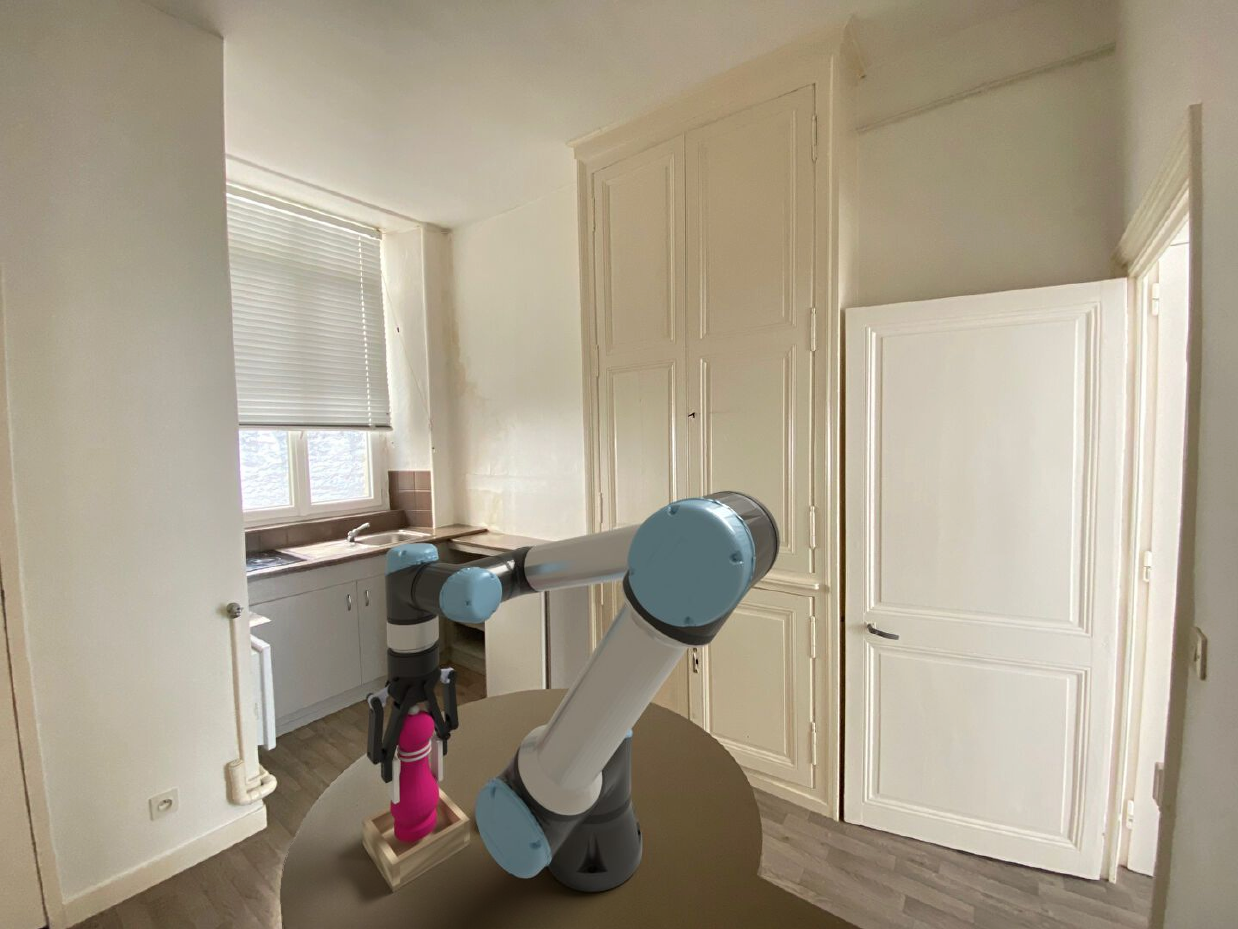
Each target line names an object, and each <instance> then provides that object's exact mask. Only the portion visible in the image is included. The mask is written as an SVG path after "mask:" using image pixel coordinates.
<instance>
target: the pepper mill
mask: <svg viewBox="0 0 1238 929" xmlns="http://www.w3.org/2000/svg"><path fill="white" fill-rule="evenodd" d="M434 732H435V730H434V721H433V718H432V716H431V715H430V714H429V713H428V712H427V710H423V709H420V705H419V704H418V703H416V704H415V705H413V706H411V707H410V708H409V711H408V714H407V715H406V716H405V720H404V723H403V727H402V730H401V734H400V737H399V741H398V744H397V748H396V752H397V753H396V757H397V759H398V760H399V797H400V802H398V803H396V804H394V803H393V802H392V800H391V799H390V805H389V807H390V811H391V814H392V816H393V817H394V818H395V820H394V835H395V837H396V838H397V839H398V840H400V841H403V842H412V841H417V840H419V839H422V838H424V837H425V836H427V835H428V834H429V833H431V831H432V830H433V829H434V827H435V826H436V822H437V812H436V806H437V804H438V802H439V797H440V796H439V788H440V787H439V784H438V781H437V780H436V779H435V777H434V775H433V774H432V772H431V765H430V761H429V754H431V739H430V738H431V736H432V735H433V734H434Z"/></svg>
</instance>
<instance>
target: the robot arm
mask: <svg viewBox="0 0 1238 929" xmlns="http://www.w3.org/2000/svg"><path fill="white" fill-rule="evenodd" d="M780 546H781V536H780V530H779V528H778V523H777V521H776V519H775V518H774V516H773V514H772V512H771V511H770V510H769V509H768V507H767V506H766V505H765V504H764V503H762V502H761V501H760V500H759V499H758V498H756V497H754V496H752V495H750V494H749V493H748V494H747V493H743V492H741V491H737V490H723V491H718V492H713V493H710V494H706V495H702V496H698V497H688V498H681V499H678V500H676V501H673V502H670V503H668V504H667V505H666V506H664V507H662V508H659V509H658V510H657V511H655V512H653V513H652V514H650V515H649V517H647V518H645V520H644V521H643V522H642V523H638V524H633V525H628V526H622V527H619V528H613V529H608V530H604V531H598V532H594V533H589V534H585V535H580V536H575V537H570V538H569V537H568V538H565V539H561V540H556V541H555V540H554V541H551V542H547V543H542V544H537V545H528V546H527V545H526V546H521V547H518V548H514V549H513V550H510V551H506V552H502V553H498V554H496V555H495V554H494V555H490V556H488V557H483V558H480V559H476V560H472V561H469V562H464V563H460V564H459V563H458V564H455V563H446V562H442V561H439V559H440V557H439V554H438V548H437V547H436V546H435V545H434V544H432V543H428V542H427V543H425V542H417V543H415V542H413V543H406V544H401V545H396V546H393V547H391V548H390V549H389V550H388V551H387V552H386V553H385V555H386V556H385V572H384V575H383V576H384V580H385V582H384V584H385V588H384V589H385V608H386V610H385V611H386V645H387V647H388V649H387V650H386V658H387V659H386V663H387V665H386V666H387V671H386V672H387V680H386V682H385V685H384V688H382V689H380V690H378V691H377V692H375V693H374V692H369V693H367V695H366V697H365V699H366V703H367V705H368V708H369V711H368V712H369V713H368V728H367V745H366V757H367V758H368V760H369V761H370V762H371V763H372V764H373V765H374V766H376V765H378V764H379V763H380V778H381V780H382V781H383V782H384V783H385V784H386V786H387V788H386V789H387V790H386V792H387V794H386V795H387V797H388V798H389V799H390V801H391V800H392V802H393V803H394V804H396V803H398V802H400V797H399V774H400V760H399V759H398V757H397V755H396V752H397V747H398V745H397V744H398V741H399V737H400V734H401V730H402V727H403V723H404V720H405V716H406V715H407V714H408V711H409V708H410V707H411V706H413V705H415V704H416V703H417V704H418V703H423V705H424V707H425V709H426V710H425V711H426V712H428V713H429V714H430V715H431V716H432V718H433V721H434V732H435V733H433V735H432V736H431V738H430V739H431V751H430V769H431V772H432V774H433V775H434V777H435V779H436V781H437V783H439V782H442V781H443V780H444V766H443V765H444V764H443V763H444V759H443V757H445V756H446V755H447V754H448V740H449V739H451V736H452V734H451V733H450V732H452V731H456V730H457V729H458V728H459V725H460V724H459V712H458V703H457V702H458V701H457V691H456V683H457V679H458V674H459V673H458V671H457V670H455V669H454V668H452V667H451V666H445V668H442V669H441V668H440V666H439V664H440V643H439V642H438V640H439V638H440V637H439V636H440V635H439V634H440V628H439V627H440V625H439V617H441V618H442V617H443V618H446V619H450V620H452V621H454V622H457V623H458V622H460V623H462V624H463V623H469V624H481V623H484V622H487V621H488V620H489V619H490V618H491V617H492V615H493V614H494V613H495V612H497V610H498V609H499V607H500V604H502V603H505V602H507V601H509V600H511V599H514V598H515V599H516V598H518V597H522V596H525V595H533V594H537V593H539V594H540V593H543V592H547V591H548V592H549V591H555V590H564V589H570V588H577V587H578V588H579V587H585V586H592V585H593V586H594V585H599V584H600V585H601V584H606V583H614V582H620V581H621V592H622V595H623V597H624V602H623V603H622V605H621V607H620V608H619V610H618V611H617V613H616V615H615V616H614V618H613V619H612V621H611V622H610V623H609V626H608V627H607V628H606V631H605V632H604V634H603V635H602V637H601V639H600V640H599V642H598V643H597V645H596V646H595V648H594V650H593V651H592V653H591V654H590V655H589V658H588V659H587V661H586V663H585V664H584V665H583V667H582V669H581V670H580V672H579V673H578V675H577V677H576V678H575V680H574V681H573V683H572V685H571V686H570V688H569V689H568V691H567V692H566V695H565V696H564V697H563V699H561V700H562V701H561V702H560V704H559V705H558V706H557V708H556V710H555V711H554V713H553V715H552V716H551V718H550V719H549V721H548V723H547V724H544V725H540V726H537V727H535V728H534V729H533V728H532V730H531V731H530V732H529V733H528V734H527V735H526V736H525V737H524V739H523V740H522V742H521V744H520V745H519V747H518V748H517V750H515V753H514V755H513V756H512V758H511V759H510V761H509V762H508V763H507V765H506V766H505V767H504V768H503V770H501V771H500V772H499V773H498V774H497V775H495V776H494V777H492V778H490V779H488V780H487V782H486V784H485V785H484V786H483V787H481V788H480V790H479V792H478V793H477V796H476V798H475V803H474V814H475V822H476V824H477V827H478V828H477V829H478V832H479V835H480V838H481V840H482V842H483V844H484V846H485V847H486V849H487V851H488V853H489V854H490V855H491V857H492V858H493V859H494V861H495V862H496V863H497V864H498V865H499V866H500V867H501V868H502V869H503V870H505V871H506V872H507V873H509V875H510V874H512V875H513V876H515V877H517V878H519V879H530V878H533V877H535V876H537V875H538V874H539V873H540V872H541V871H542V870H543V869H544V868H545V867H548V869H549V871H550V873H551V874H552V876H553V877H554V878H555V879H556V880H557V881H558V882H559V883H561V884H562V885H564V886H566V887H567V888H569V889H573V890H576V891H581V892H586V893H587V892H588V893H593V892H595V893H597V892H603V891H604V892H605V891H608V890H611V889H615V888H616V887H618V886H620V885H621V884H623V883H624V882H626V881H627V880H629V879H630V878H631V876H633V875H634V873H635V872H636V871H637V869H638V868H639V865H640V864H641V860H642V856H643V834H642V828H641V826H640V823H639V820H638V817H637V813H636V811H635V807H634V805H633V801H632V748H633V747H632V740H633V739H632V738H633V737H632V736H633V730H632V728H633V727H634V726H635V724H636V722H638V720H639V719H640V717H641V715H643V713H644V711H645V710H646V709H647V707H648V706H649V705H650V702H651V701H653V699H654V697H655V695H657V693H658V691H659V690H660V689H661V687H662V686H663V684H664V683H665V682H666V680H667V679H668V678H669V676H670V675H671V673H672V672H673V671H674V669H675V667H677V664H678V663H679V662H680V661H681V659H682V658H683V656H684V654H686V652H687V650H688V649H690V648H693V649H694V648H695V649H697V648H699V649H700V648H704V647H707V646H708V645H710V644H711V642H713V640H714V638H715V637H716V636H717V634H718V633H719V632H720V631H721V629H722V627H723V626H724V625H725V623H726V622H727V620H728V619H729V618H730V616H731V615H733V613H734V611H735V609H736V608H738V606H739V604H740V603H741V601H742V600H743V598H744V597H745V596H746V595H747V594H748V592H750V590H751V589H752V588H753V587H754V586H755V585H756V584H758V583H759V582H760V581H761V580H763V578H765V577H766V575H767V574H768V573H769V572H770V571H771V570H772V569H773V566H774V565H775V562H776V561H777V558H778V555H779V552H780ZM439 681H440V682H441V691H442V692H441V693H442V706H443V713H444V714H442V711H441V709H440V706H439V703H438V699H437V696H436V694H435V691H434V690H435V689H436V686H437V684H438V683H439ZM389 696H390V697H391V698H392V702H391V706H390V710H391V711H390V714H389V719H388V722H387V725H386V729H385V733H384V718H385V716H384V715H385V711H384V708H385V707H386V705H387V704H386V703H387V698H388V697H389ZM443 715H444V717H443ZM383 734H384V736H383Z"/></svg>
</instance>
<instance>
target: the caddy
mask: <svg viewBox="0 0 1238 929" xmlns="http://www.w3.org/2000/svg"><path fill="white" fill-rule="evenodd" d="M439 796H440V797H439V802H438V804H437V806H436V812H437V822H436V826H435V827H434V829H433V830H432V831H431V833H429V834H428V835H427V836H425V837H424V838H422V839H419V840H417V841H412V842H403V841H400V840H398V839H397V838H396V837H395V835H394V820H395V818H394V817H393V816H392V814H391V811H390V806H388V807H387V808H384V809H382V810H380V811H378V812H376V813H373V815H370V816H368V817H366V818H364V819H363V820H362V845H363V847H364V849H365V850H366V852H367V853H368V855H369V857H370V858H371V861H372V862H373V863H374V865H375V866H376V867H377V869H378V871H379V873H381V875H382V877H383V879H384V880H385V882H386V884H387V885H388V887H389V888H390V890H391V891H392V893H394V892H396V891H398V890H399V889H401V888H402V887H405V885H407V884H409V883H410V882H413V880H415V879H417V878H418V877H420V876H421V875H423V874H424V873H426V872H428V871H429V870H431V869H433V868H434V867H437V865H439V864H440V863H442V862H444V861H446V860H447V859H449V858H450V857H452V856H453V855H455V854H456V853H458V852H459V851H462V850H463V849H464V848H466V847H467V846H469V845H471V818H469V817H468V816H467V815H466V814H465V813H464V812H463V810H461V809H460V808H459V807H458V806H457V804H456V803H454V802H453V800H452V799H451V798H450V797H449V796H448V795H447V794H446V793H445V792H444V791H443V790H442V789H441V788H440V787H439Z"/></svg>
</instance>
